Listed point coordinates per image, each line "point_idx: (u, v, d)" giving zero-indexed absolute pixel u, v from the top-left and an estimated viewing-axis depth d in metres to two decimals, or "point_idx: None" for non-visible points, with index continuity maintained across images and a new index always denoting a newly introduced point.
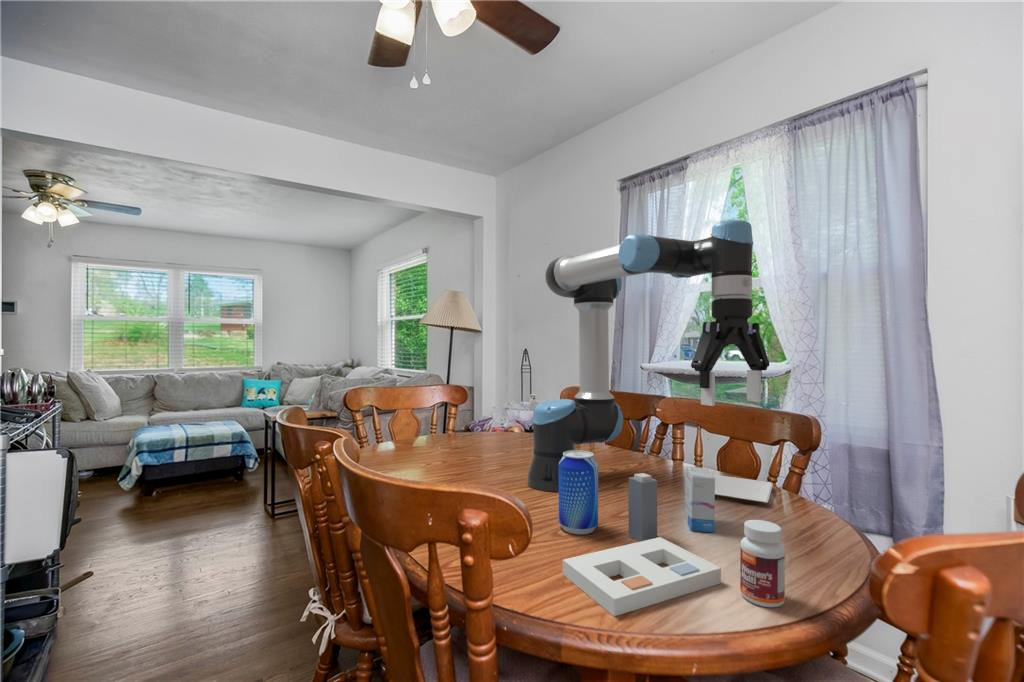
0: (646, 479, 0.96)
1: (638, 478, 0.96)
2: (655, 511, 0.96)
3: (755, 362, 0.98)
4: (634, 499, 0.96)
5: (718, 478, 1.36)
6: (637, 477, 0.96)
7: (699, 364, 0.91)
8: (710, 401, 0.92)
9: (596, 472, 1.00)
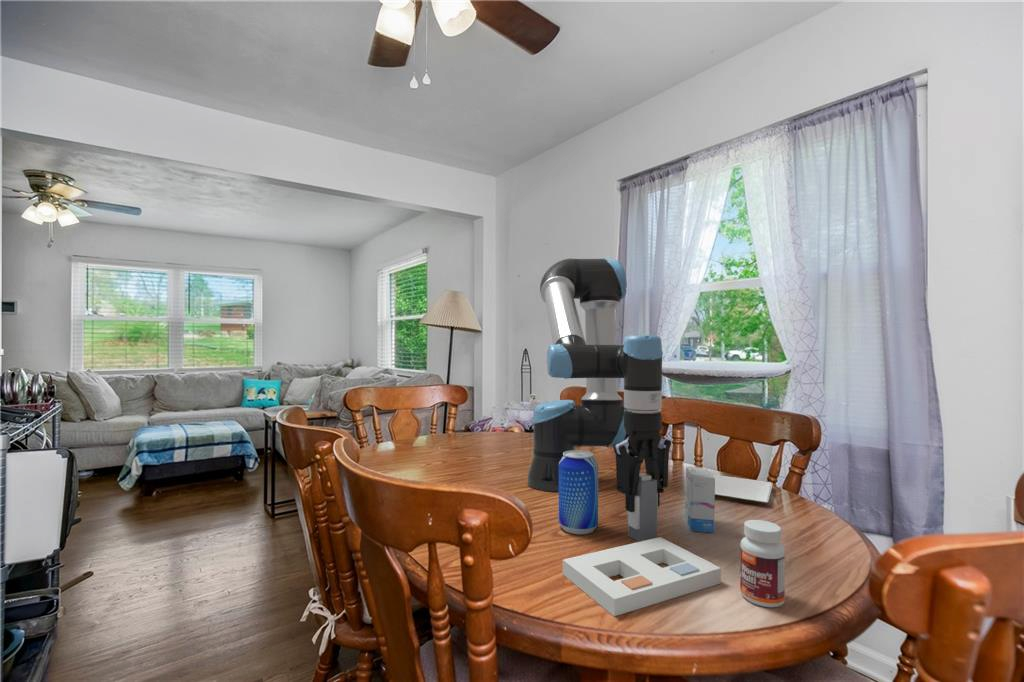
0: (646, 479, 0.96)
1: None
2: (655, 511, 0.96)
3: None
4: None
5: (718, 478, 1.36)
6: None
7: (623, 490, 0.93)
8: (635, 524, 0.95)
9: (596, 472, 1.00)
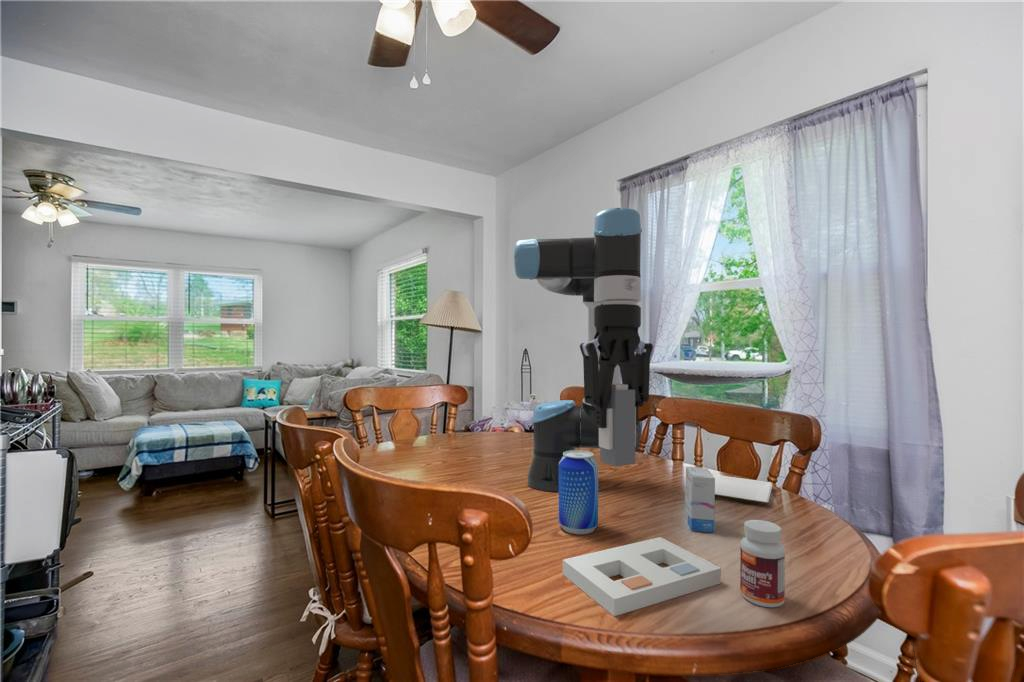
0: (621, 388, 0.77)
1: (612, 387, 0.77)
2: (633, 428, 0.77)
3: None
4: None
5: (718, 478, 1.36)
6: None
7: (592, 399, 0.75)
8: (607, 444, 0.76)
9: (596, 472, 1.00)
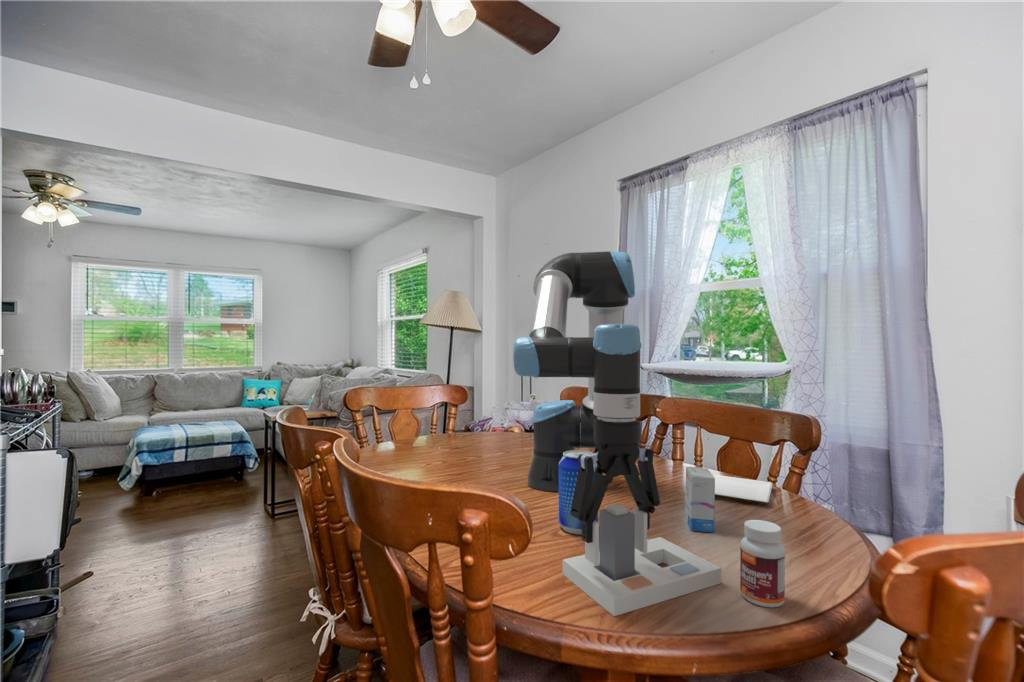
0: (621, 513, 0.76)
1: (611, 511, 0.77)
2: (632, 553, 0.76)
3: (641, 500, 0.79)
4: (606, 537, 0.77)
5: (718, 478, 1.36)
6: (610, 510, 0.77)
7: (577, 515, 0.73)
8: (593, 558, 0.74)
9: None
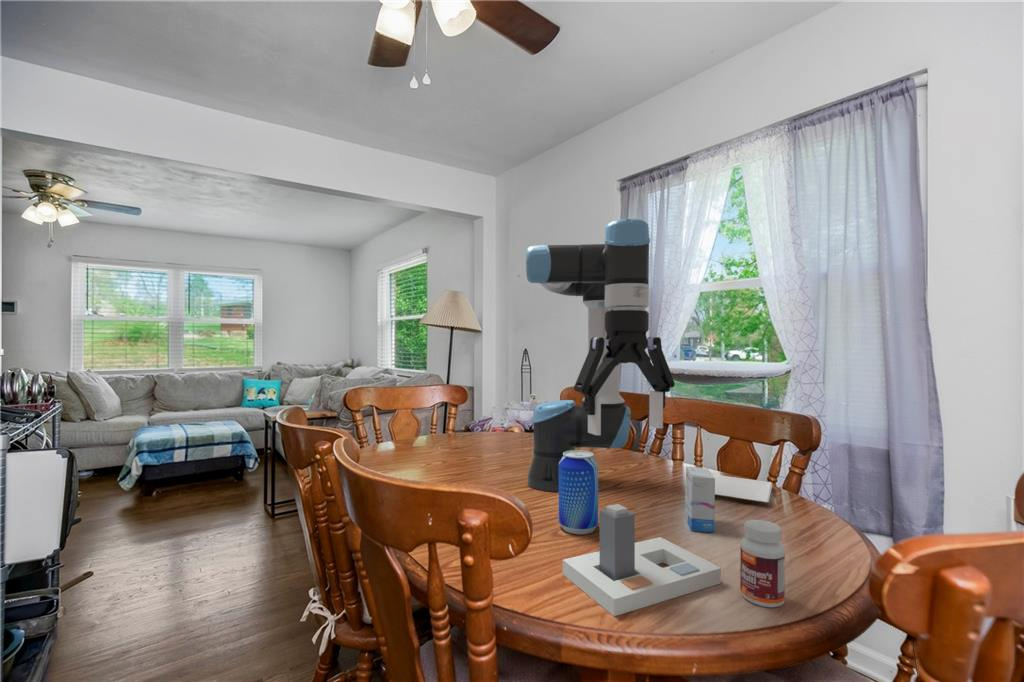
0: (621, 513, 0.76)
1: (611, 511, 0.77)
2: (632, 553, 0.76)
3: (656, 382, 0.85)
4: (606, 537, 0.77)
5: (717, 478, 1.36)
6: (610, 510, 0.77)
7: (580, 387, 0.78)
8: (595, 430, 0.79)
9: (596, 472, 1.00)
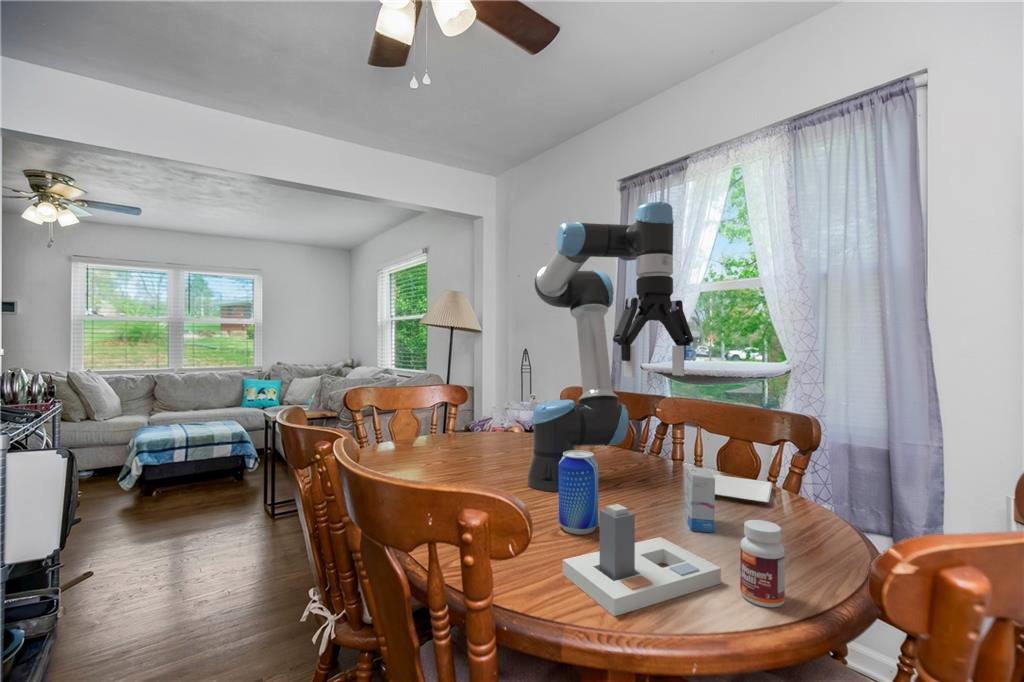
0: (621, 513, 0.76)
1: (611, 511, 0.77)
2: (632, 553, 0.76)
3: (678, 337, 1.03)
4: (606, 537, 0.77)
5: (717, 478, 1.36)
6: (610, 510, 0.77)
7: (619, 338, 0.96)
8: (631, 373, 0.97)
9: (596, 472, 1.00)
